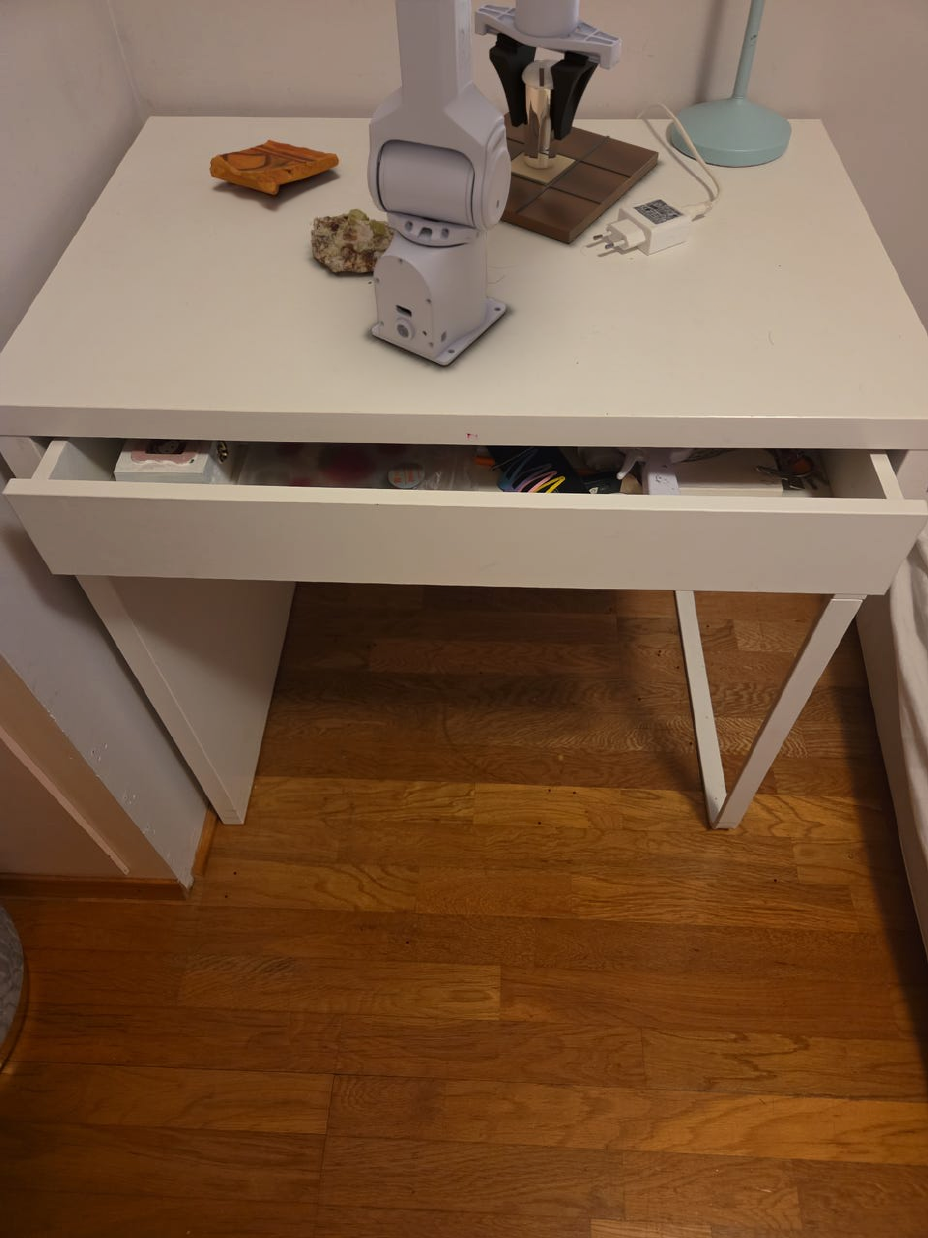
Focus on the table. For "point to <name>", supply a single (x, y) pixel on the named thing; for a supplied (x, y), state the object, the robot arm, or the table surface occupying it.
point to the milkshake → (539, 115)
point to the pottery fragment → (270, 165)
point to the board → (571, 181)
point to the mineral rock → (350, 241)
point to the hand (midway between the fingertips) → (541, 129)
